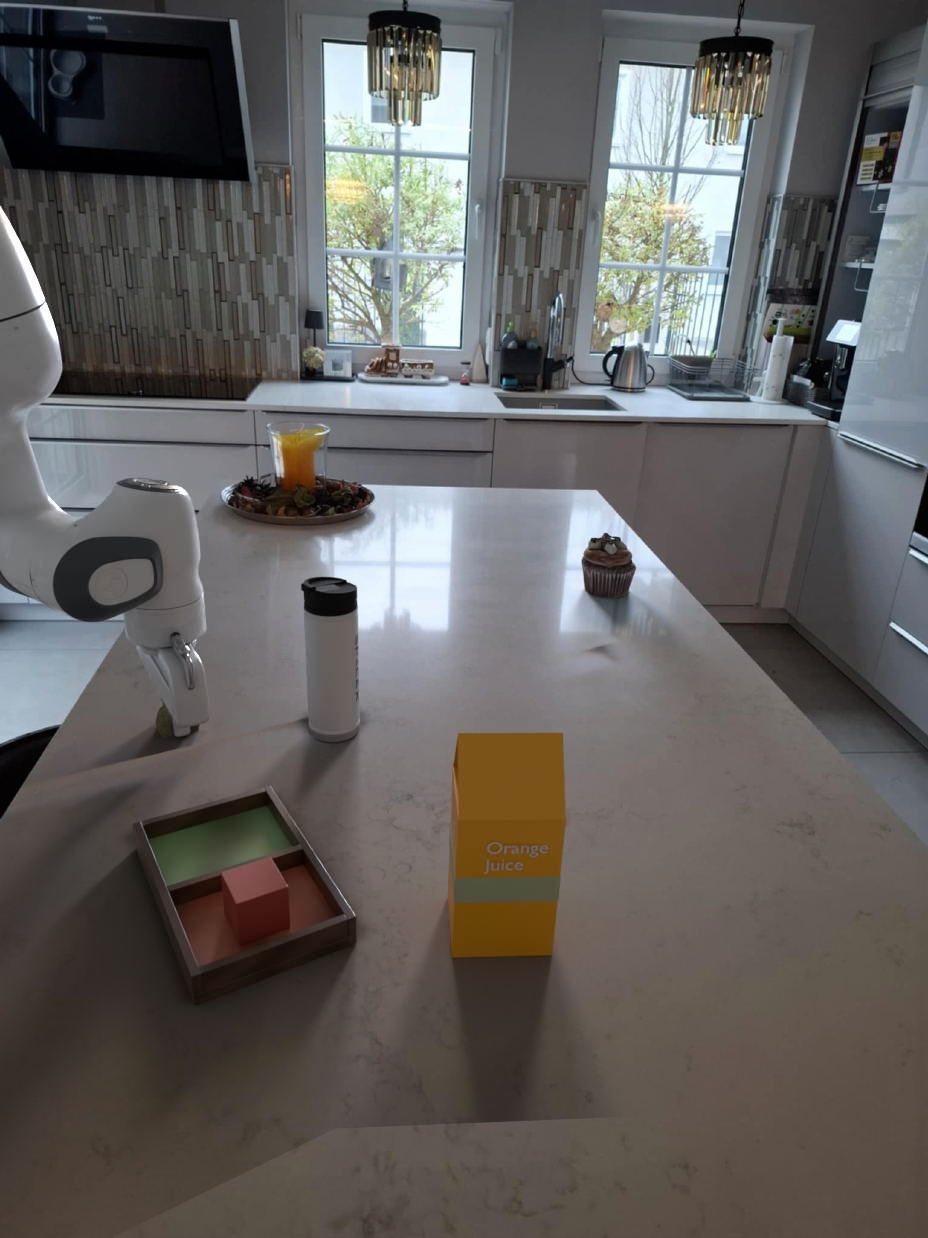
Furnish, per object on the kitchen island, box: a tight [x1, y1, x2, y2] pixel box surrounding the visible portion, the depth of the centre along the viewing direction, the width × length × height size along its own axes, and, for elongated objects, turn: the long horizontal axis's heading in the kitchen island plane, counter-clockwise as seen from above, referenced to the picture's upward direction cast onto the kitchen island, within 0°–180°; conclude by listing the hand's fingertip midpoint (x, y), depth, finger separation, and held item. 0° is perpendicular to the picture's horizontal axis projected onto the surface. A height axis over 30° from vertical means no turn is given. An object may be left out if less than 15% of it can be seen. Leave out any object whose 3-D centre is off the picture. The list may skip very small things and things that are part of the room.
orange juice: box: [447, 732, 567, 958], centre depth 74 cm, size 8×9×20 cm
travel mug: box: [300, 576, 361, 743], centre depth 104 cm, size 6×7×20 cm
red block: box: [221, 857, 290, 946], centre depth 75 cm, size 4×4×4 cm
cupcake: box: [580, 532, 637, 599], centre depth 154 cm, size 10×10×10 cm
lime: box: [155, 704, 201, 739], centre depth 104 cm, size 4×5×5 cm
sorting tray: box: [132, 785, 358, 1006], centre depth 80 cm, size 14×22×3 cm, turn 31°
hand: (176, 724), depth 105 cm, fingers closed on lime, 3 cm apart
